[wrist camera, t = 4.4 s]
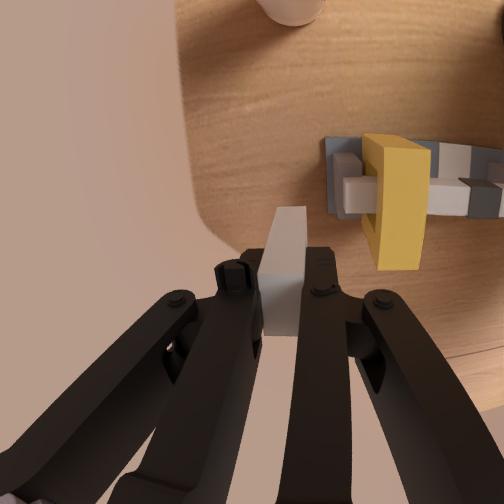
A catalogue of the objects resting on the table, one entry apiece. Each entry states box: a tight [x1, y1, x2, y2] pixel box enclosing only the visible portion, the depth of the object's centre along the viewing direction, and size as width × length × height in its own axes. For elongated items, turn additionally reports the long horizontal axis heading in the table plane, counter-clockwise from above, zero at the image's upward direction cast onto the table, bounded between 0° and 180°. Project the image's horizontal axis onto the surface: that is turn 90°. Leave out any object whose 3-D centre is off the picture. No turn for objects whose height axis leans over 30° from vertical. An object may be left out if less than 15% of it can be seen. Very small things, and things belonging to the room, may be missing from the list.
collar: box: [361, 134, 431, 271], centre depth 20 cm, size 8×3×8 cm, turn 6°
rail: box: [325, 137, 504, 220], centre depth 21 cm, size 7×19×7 cm, turn 96°
